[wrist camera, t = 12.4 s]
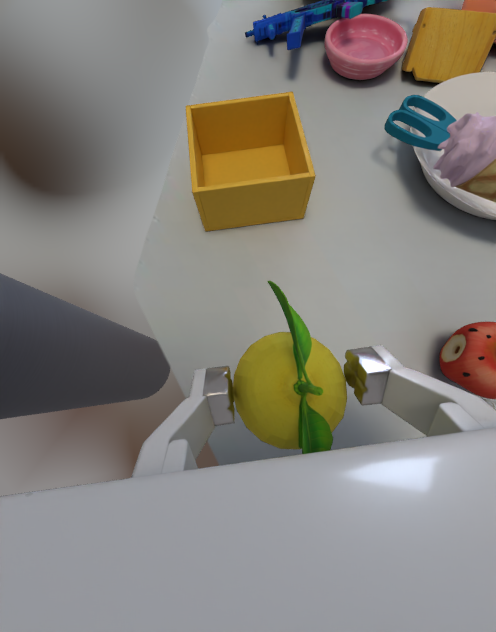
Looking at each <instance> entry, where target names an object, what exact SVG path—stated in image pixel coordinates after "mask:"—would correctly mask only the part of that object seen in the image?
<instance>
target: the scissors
mask: <svg viewBox="0 0 496 632" xmlns="http://www.w3.org/2000/svg"><path fill="white" fill-rule="evenodd" d="M408 106H414V107H417V108H419V109H421V110H423V111H425V112H427V113H429V114H431V115H432V116H434V117H435V118H437V119H438V120H439V121H436V120H432V119H430V118H427V117H425V116H423V115H421V114H419V113H417V112H415V111H413V110H412V109H410V108H409V107H408ZM395 120H396V121H401V122H403V123H406V124H407V125H409V126H411V127H413V128H415V129H416V130H418V131H420V132H421V133H423V134H424V135H425V136H426V137H421V136H418V135H415V134H413V133H411V132H409V131H407V130H405V129H403V128H401V127H399V126H398V125H396V124H395V123H394V122H393V121H395ZM456 121H457V120H456V119H455V118H454V117H453V116H452V115H451V114H450V113H449V112H447V111H446V110H445V109H444V108H442V107H441V106H439V105H438V104H436V103H434V102H433V101H431V100H429V99H427V98H425V97H422V96H419V95H411V96H408V97H406V98H405V100H404V101H403V103H402V105H401V107H400V109H399V110H396V111H393V112H392V113H391V114H390V115H389V117H388V119H387V121H386V123H385V130H386V132H387V133H389V134H390V135H391V136H393V137H395V138H397V139H399V140H401V141H403V142H405V143H407V144H410V145H412V146H416V147H420V148H424V149H428V150H435V151H441V150H442V149H439V148H438V146H439V145H440V144H441V143H442V142H444V141H446V140H447V139H448V138H450V133H449V132H448V131H447V127H448V126H449V125H450V124H452V123H454V122H456Z"/></svg>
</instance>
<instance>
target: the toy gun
mask: <svg viewBox="0 0 496 632" xmlns="http://www.w3.org/2000/svg"><path fill="white" fill-rule="evenodd" d="M383 1H387V0H322V1H319V2H316V3H313V4H308V5H306V6H304V7H301V8H298V9H295V10H291V11H288V12H285V13H282V14H281V13H280V14H277V15H274V16H272V17H268V18H266V15H263V18H264V19H262V20H258V21H255V22H253V28H254V29H253V30H252V31H251V30H250V31H248V32H245V35H246V37H249V36H251V37H252V35H254V36H255V42H256V41H257V44H258V41H259V40H262V39H266V38H268V37H269V38H270V39H271V40H273V39H274V38H275V35H279V34H282V33H283V32H286V31H290V32H289V33H288V34H287V50H291V49H295V48H300V46H301V41H302V36H303V31H304V29H306V27H309V26H311V25H312V24H315V23H319V22H322V21H325V20H328V19H332V18H337V17H340V18H348V19H352V18H354V17H356V16H358V15H360V14H361V13H362V8H363V7H365V6H367V5H371V4H375V3H379V2H383Z"/></svg>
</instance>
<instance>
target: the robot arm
mask: <svg viewBox="0 0 496 632" xmlns="http://www.w3.org/2000/svg"><path fill="white" fill-rule="evenodd" d="M345 358H346V359H347V362H346V363H345V364H344V375H345V379H346V381H347V383H348V385H349V386H351V387H352V388H354V394H355V396H356V397H357V399H358V401H359V402H360V404H361V405H372V404H381V403H382V405H383V406H385V407H386V408H388V409H389V410H390V411H392V412H393V413H395V414H396V415H398V416H399V417H401V418H402V419H403V420H405V421H406V422H408V423H409V424H411V425H412V426H414V427H415V428H416V429H418V430H419V431H421V432H422V433H424V434H425V435H426V436H427V437H423V438H415V439H408V440H401V441H394V442H387V443H380V444H373V445H365V446H358V447H351V448H344V449H337V450H329V451H322V452H315V453H308V454H300V455H293V456H286V457H279V458H271V459H264V460H257V461H250V462H243V463H235V464H228V465H221V466H214V467H207V468H200V469H198V467H197V465H196V462H195V460H196V458H197V457H198V455H199V453H200V452H201V450H202V448H203V446H204V445H205V443H206V442H207V440H208V438H209V436H210V435H211V433H212V431H213V430H214V428H215V426H219V425H225V424H231V423H235V422H234V406H233V402H234V391H233V384H232V380H231V377H230V368H229V366H222V367H213V368H207V369H197V370H195V371H194V375H193V380H192V385H191V390H190V395H189V398H185V400H184V401H183V402H182V403H181V404H180V405H179V406H178V407H177V408H176V409H175V410H174V411H173V412H172V414H170V415H169V417H168V418H167V419H166V420H165V421H164V422H163V423H162V424H161V425H160V426H159V427H158V428H157V429H156V430H155V431H154V432H153V433H152V434H151V436H150V437H149V438H148V439H147V440H146V441H145V442H144V443H143V445H142V448H141V451H140V454H139V457H138V459H137V463H136V465H135V468H134V471H133V474H132V477H131V478H127V479H121V480H113V481H106V482H99V483H91V484H85V485H77V486H70V487H63V488H55V489H49V490H41V491H34V492H27V493H20V494H12V495H5V496H0V632H496V410H495V409H494V408H493V407H492V406H490V405H489V404H488V403H487V402H486V401H484V400H483V399H482V398H481V397H478V396H476V395H474V394H471V393H469V392H466V391H464V390H462V389H459V388H457V387H454V386H452V385H450V384H447V383H445V382H442V381H440V380H437V379H435V378H433V377H430V376H428V375H425V374H423V373H421V372H418V371H416V370H413V369H411V368H405V367H404V366H403V365H402V364H401V363H400V362H399V361H398V360H397V359H396V358H395V357H394V356H393V355H392V354H391V353H390V352H389V351H388V350H387V349H386V348H385V347H384V346H382V345H376V346H370V347H364V348H357V349H350V350H347V351H346V353H345Z"/></svg>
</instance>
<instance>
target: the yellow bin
mask: <svg viewBox="0 0 496 632" xmlns="http://www.w3.org/2000/svg"><path fill="white" fill-rule="evenodd" d="M186 117H187V130H188V143H189V156H190V168H191V181H192V193H193V196H194V199H195V202H196V205H197V208H198V211H199V214H200V217H201V220H202V223H203V226H204V228H205V231H213V230H220V229H227V228H235V227H242V226H250V225H257V224H265V223H272V222H280V221H287V220H294V219H302V218H304V215H305V211H306V208H307V204H308V201H309V197H310V194H311V190H312V187H313V183H314V180H315V176H316V175H315V172H314V168H313V164H312V161H311V157H310V153H309V150H308V146H307V142H306V139H305V135H304V131H303V128H302V124H301V120H300V117H299V113H298V109H297V106H296V102H295V98H294V95H293V92H286V93H279V94H271V95H264V96H256V97H249V98H241V99H234V100H226V101H218V102H211V103H203V104H196V105H191V106H190V105H188V106H186Z"/></svg>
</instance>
